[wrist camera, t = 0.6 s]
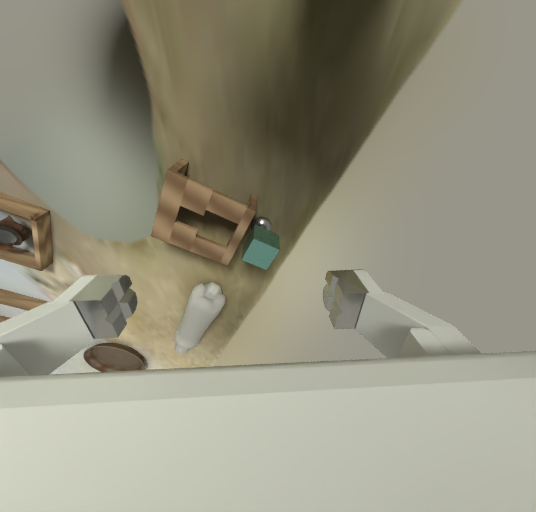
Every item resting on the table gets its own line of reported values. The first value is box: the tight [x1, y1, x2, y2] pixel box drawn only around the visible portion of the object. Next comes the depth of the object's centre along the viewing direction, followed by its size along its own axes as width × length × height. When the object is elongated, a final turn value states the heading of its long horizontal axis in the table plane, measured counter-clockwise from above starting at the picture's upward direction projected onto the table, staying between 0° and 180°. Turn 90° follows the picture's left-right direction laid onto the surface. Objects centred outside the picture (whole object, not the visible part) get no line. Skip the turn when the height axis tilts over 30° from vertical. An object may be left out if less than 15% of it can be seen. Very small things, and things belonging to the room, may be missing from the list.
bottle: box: [174, 282, 226, 354], centre depth 65 cm, size 9×9×30 cm
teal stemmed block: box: [242, 217, 280, 270], centre depth 46 cm, size 5×5×12 cm
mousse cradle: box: [0, 289, 47, 323], centre depth 65 cm, size 15×16×4 cm
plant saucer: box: [83, 343, 145, 372], centre depth 81 cm, size 21×21×3 cm
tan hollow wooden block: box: [151, 159, 257, 266], centre depth 45 cm, size 14×16×8 cm
